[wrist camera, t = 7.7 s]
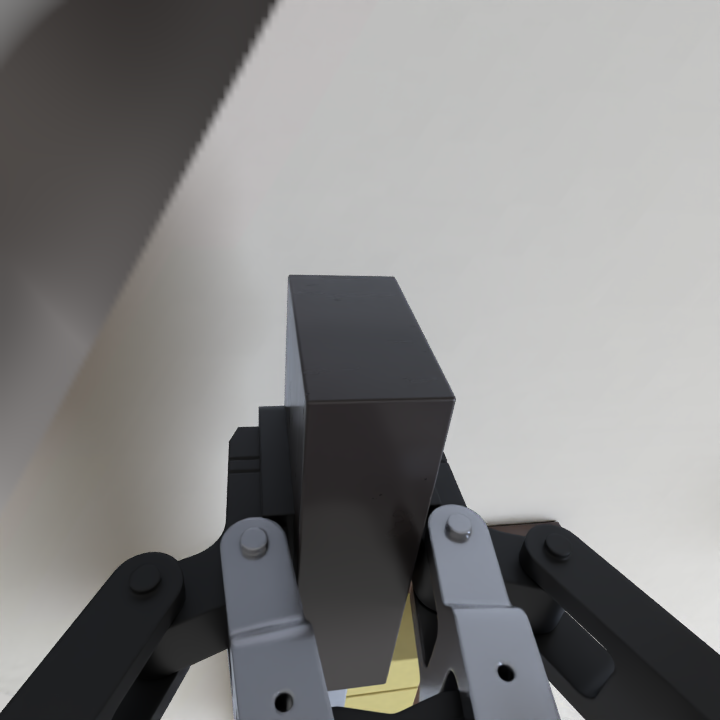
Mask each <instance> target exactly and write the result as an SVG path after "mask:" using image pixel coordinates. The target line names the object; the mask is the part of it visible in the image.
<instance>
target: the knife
mask: <svg viewBox="0 0 720 720" xmlns="http://www.w3.org/2000/svg"><path fill="white" fill-rule="evenodd" d="M455 401H456V398H455V396H454V394H453V392H452V390H451V388H450V386H449V384H448V382H447V380H446V378H445V376H444V374H443V372H442V370H441V368H440V366H439V364H438V362H437V360H436V358H435V356H434V354H433V352H432V350H431V348H430V346H429V344H428V342H427V340H426V338H425V336H424V334H423V332H422V330H421V328H420V326H419V324H418V322H417V320H416V318H415V316H414V314H413V312H412V310H411V308H410V306H409V304H408V302H407V300H406V298H405V296H404V294H403V292H402V291H401V289H400V287H399V285H398V283H397V281H396V279H395V277H387V276H332V275H289V277H288V296H287V331H286V366H285V400H284V406H285V411H286V422H287V433H288V444H289V455H290V466H291V477H292V488H293V500H294V511H295V519H294V540H293V560H292V563H293V568H294V572H295V577H296V581H297V585H298V590H299V594H300V599H301V603H302V608H303V612H304V616H305V619H306V620H309V621H310V623H311V625H312V628H313V632H314V635H315V640H316V644H317V648H318V652H319V657H320V661H321V665H322V670H323V674H324V678H325V682H326V687H327V691H328V695H329V700H330V704H331V707H336V706H340V707H344V705H345V699H346V694H347V689H351V688H358V687H366V686H374V685H381V684H385V683H386V681H387V677H388V673H389V669H390V665H391V661H392V657H393V653H394V648H395V644H396V640H397V636H398V632H399V628H400V624H401V620H402V616H403V612H404V608H405V604H406V600H407V596H408V592H409V588H410V584H411V580H412V575H413V571H414V567H415V563H416V559H417V555H418V551H419V547H420V543H421V539H422V535H423V531H424V527H425V523H426V519H427V515H428V511H429V506H430V502H431V498H432V494H433V490H434V486H435V482H436V478H437V474H438V470H439V466H440V462H441V458H442V454H443V450H444V446H445V442H446V437H447V433H448V429H449V425H450V421H451V417H452V413H453V409H454V405H455Z"/></svg>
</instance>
